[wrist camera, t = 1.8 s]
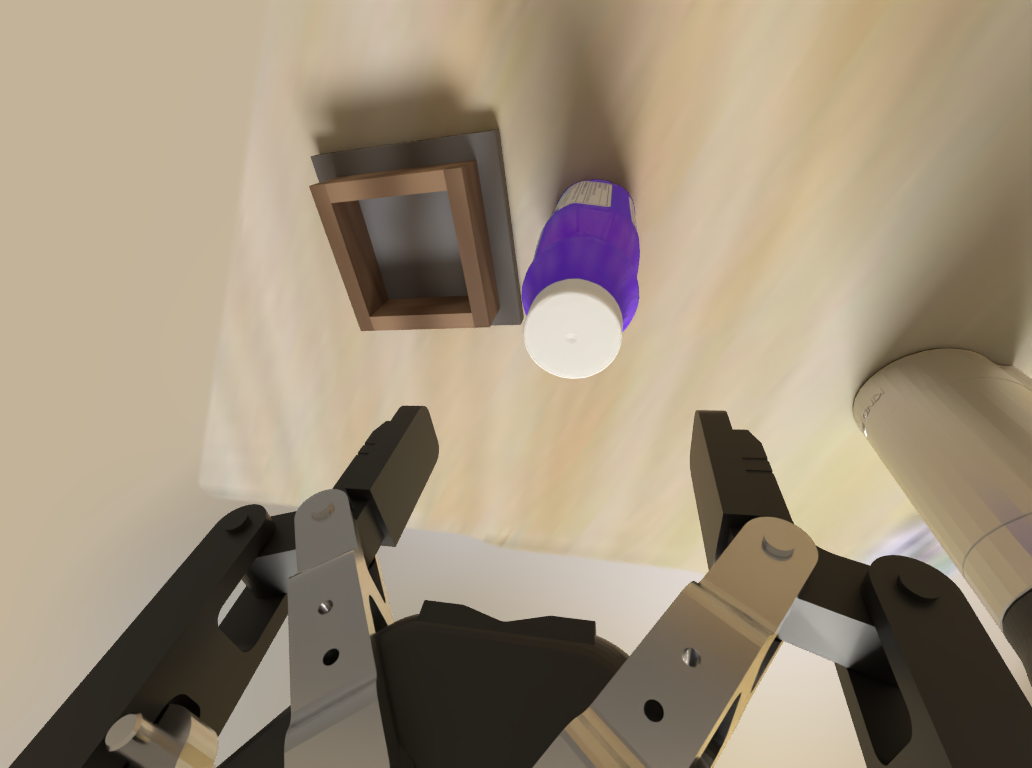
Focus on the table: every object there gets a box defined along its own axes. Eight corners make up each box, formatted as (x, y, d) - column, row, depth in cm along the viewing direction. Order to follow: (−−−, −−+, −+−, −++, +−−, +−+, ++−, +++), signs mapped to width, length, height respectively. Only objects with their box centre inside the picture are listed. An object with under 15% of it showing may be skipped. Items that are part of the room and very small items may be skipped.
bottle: (561, 168, 30) (508, 241, 16) (644, 179, 29) (666, 265, 15) (547, 269, 34) (496, 398, 20) (619, 281, 33) (619, 422, 19)
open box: (498, 129, 29) (480, 135, 25) (523, 318, 37) (512, 344, 33) (319, 154, 33) (279, 163, 29) (376, 323, 40) (350, 348, 36)
